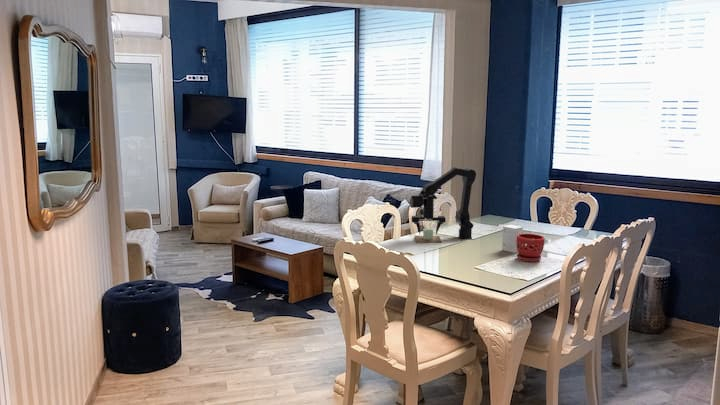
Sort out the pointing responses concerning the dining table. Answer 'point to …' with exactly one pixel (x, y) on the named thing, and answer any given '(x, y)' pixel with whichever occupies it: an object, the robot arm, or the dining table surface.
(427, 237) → the green cube
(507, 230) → the small box
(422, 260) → the dining table surface
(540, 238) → the plant pot
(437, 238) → the walnut board
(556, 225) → the dining table surface
